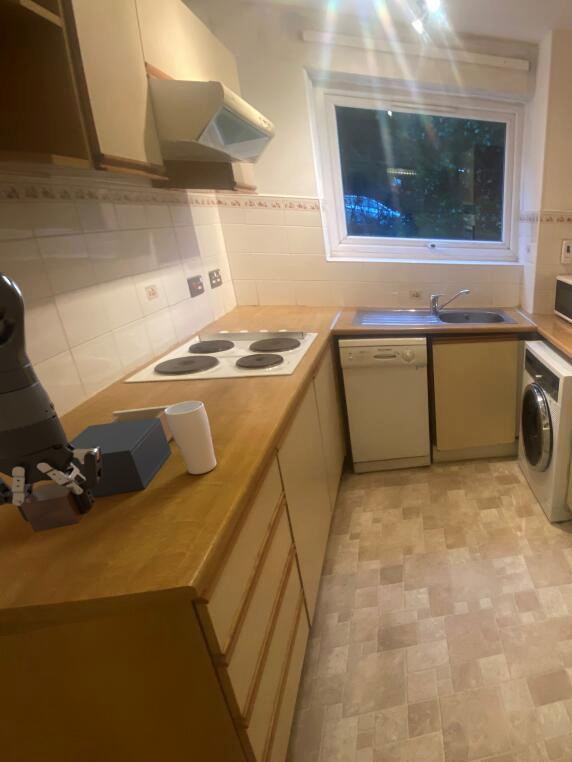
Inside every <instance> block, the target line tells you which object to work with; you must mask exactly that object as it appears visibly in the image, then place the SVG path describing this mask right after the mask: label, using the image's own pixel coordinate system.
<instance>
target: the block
mask: <svg viewBox="0 0 572 762" xmlns="http://www.w3.org/2000/svg"><path fill="white" fill-rule="evenodd" d="M73 495H74V494H73V493H72V492H71V491H70V490H69V489H68V488H66V487H65V486H60V485H59V484H58V483H57V482H50V483H45V484H40V485H36V487H35V488H33V491H32V493H31V494H30V495H29V496H28V497H27V498H26V499H25V500H24V501H23V503H22V504H21V505H20V506H21V507H22V509H23V511H24V513H25V515H26V517H27V519H28V521H29V522H28V524H29V525H30V526H31V529H32V531H33V532H34V533H39V532H43V531H48V530H53V529H58V528H63V527H69V526H72V525H77V524H80V522H81V520H82V519H83V517H84V516H85V514H83V515H82V514H81V513H80V511H79V509H78V507H77V505H76V502H75V500H74V498H73Z"/></svg>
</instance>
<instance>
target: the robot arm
mask: <svg viewBox="0 0 572 762" xmlns="http://www.w3.org/2000/svg"><path fill="white" fill-rule="evenodd" d="M24 299H25V298H24V296H23V292H22V290H21V289H20V287H19V285H18V284H17V283H16V282H15V281H14V279H13V278H11V276H10V275H8V274H7V273H5V272H4V271H2V270H0V473H1V474H3V475H6V476H8V477H10V478H11V479H12V482H11V486H10V485H9V484H8V483H7V482H6V481H5V480H4V479H3V477H1V476H0V506H4V505H5V504H6V505H7V504H9V505H10V504H11V505H14V506H16V507H17V509H18V511H19V513H20V515H21V517H22V518H23V520H24V521H25V522H26V523H29V521H28V519H27V517H26V515H25V513H24V511H23V509H22V507H21V506H20V505H21V504H22V503H23V501H24V500H25V499H26V498H27V497H28V496H29V495H30V494H31V493H32V491H33V490H34V484H36V483H39V482H43V481H44V482H45V481H46V482H47V481H49V482H50V481H54V483H56V482H57V483H58V484H59V485H60V486H65V487H66V488H68V489H69V490H70V491H71V492H72V493H73V494H74V495H73V498H74V500H75V502H76V505H77V507H78V509H79V511H80V513H81V514H82V515H83V514H84V515H87V514H89V513H90V511H91V510H92V509H93V507H94V505H95V504H96V500H95V497H93V495H92V493H91V491H90V488H95V487H96V486H97V484H98V482H99V481H100V480H101V479H102V477H103V475H102V458H101V448H100V447H99V446H93V447H91V448H90V449H76V448H75V447H74V446H72V445H71V444H70V443H69V442H70V441H68V437H67V434H66V431H65V429H64V427H63V425H62V423H61V420H60V419H59V418H60V417H59V415H58V413H57V411H56V409H55V408H56V407H55V404H54V402H53V401H52V400H51V397H50V396H49V394H48V392H47V390H46V389H45V387H44V386H43V385H42V383H41V381H40V379H39V376H38V374H37V371H36V370H35V367H34V365H33V363H32V360H31V358H30V356H29V353H28V350H27V349H28V348H27V335H26V305H25V300H24ZM74 457H75V458H78V459H79V461H80V463H81V464H85V477H84V476H83V475H82V474H80V471H79V469H78V468H77V467H76V466H75V465H74V464H72V463H71V462H72V460H73V458H74ZM64 473H65V474H64Z"/></svg>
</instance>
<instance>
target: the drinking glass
mask: <svg viewBox="0 0 572 762" xmlns="http://www.w3.org/2000/svg"><path fill="white" fill-rule="evenodd" d="M171 405H172V406H170V407H168V408H166V409H165V411H164V413H165V417H166V420H167V424H168V427H169V429H170V432H171V434H172V438H173V440H174V443H175V444H176V447H177V449H178V451H179V454H180V455H181V458H182V459H183V462H184V464H185V467H186V470H187V472H188V474H191V475H203V474H206V473H209V472H211V471H212V470H214V469H215V468H216V466H217V465H218V463H217V462H218V461H217V459H216V454H215V450H214V449H215V448H214V443H213V438H212V433H211V426H210V421H209V416H208V414H207V410H206V408H205V405H204V402H202V401H200V400H187V401H181V402H177V403H174V404H171Z"/></svg>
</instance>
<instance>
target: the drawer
mask: <svg viewBox="0 0 572 762" xmlns="http://www.w3.org/2000/svg"><path fill="white" fill-rule="evenodd" d="M172 405H173V404H169V405H168V404H167V405H160V406H152V407H142V408H131V409H124V410H114V411H113V412H112V413H111V415H112V417H111V418H110V419H109V420H108V421H107V422H106V423H105V424H108V423H117V422H125V421H134V420H142V419H151V418H160V421H161V424H162V426H163V429H164V432H165V435H166V438H167V441H168V443H169V442H170V440H171V439H172V438H173V436H172V434H171V432H170V429H169V427H168V424H167V420H166V417H165V413H164V411H165V409H166V408H168V407H170V406H172Z"/></svg>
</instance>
